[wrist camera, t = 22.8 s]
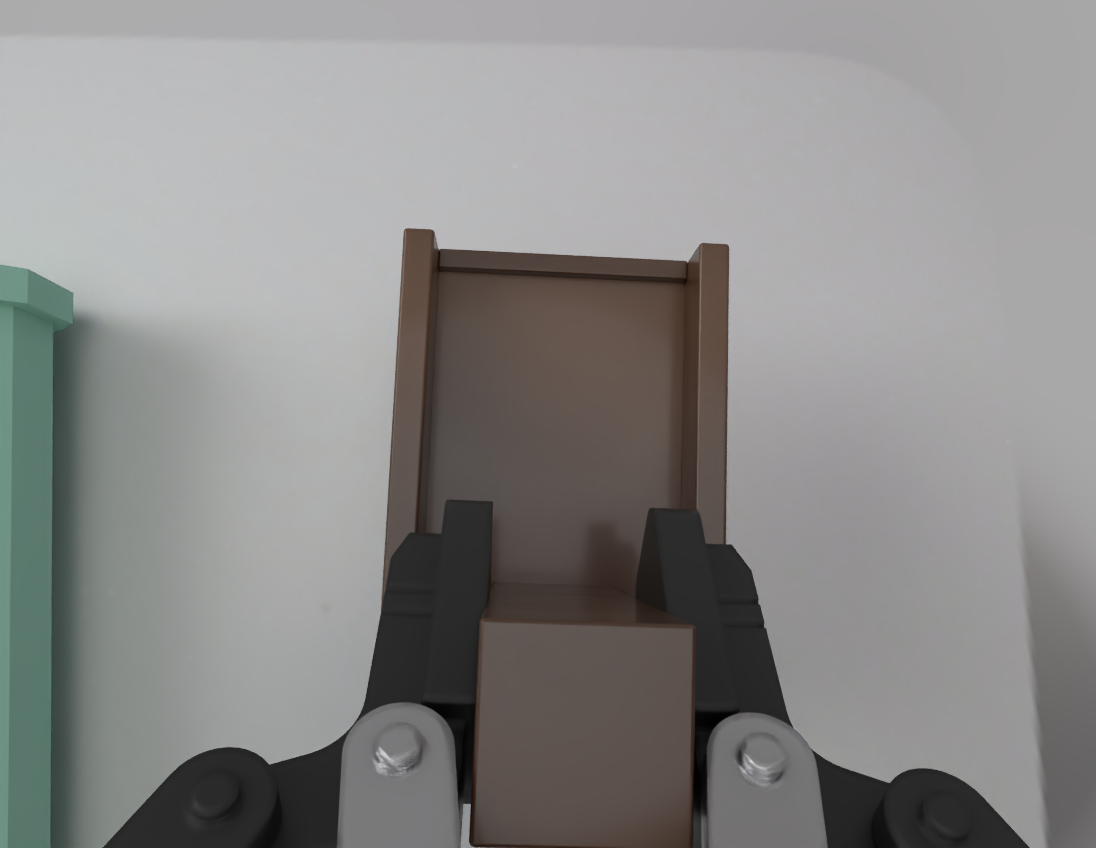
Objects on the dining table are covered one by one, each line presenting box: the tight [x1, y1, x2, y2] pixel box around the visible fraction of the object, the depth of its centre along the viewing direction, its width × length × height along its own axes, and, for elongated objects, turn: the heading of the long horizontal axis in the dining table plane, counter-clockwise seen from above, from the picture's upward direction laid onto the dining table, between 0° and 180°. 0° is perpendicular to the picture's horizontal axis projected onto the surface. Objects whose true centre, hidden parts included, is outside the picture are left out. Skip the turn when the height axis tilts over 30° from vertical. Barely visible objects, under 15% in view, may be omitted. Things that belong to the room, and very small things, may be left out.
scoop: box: [381, 228, 729, 848], centre depth 15 cm, size 10×6×9 cm
